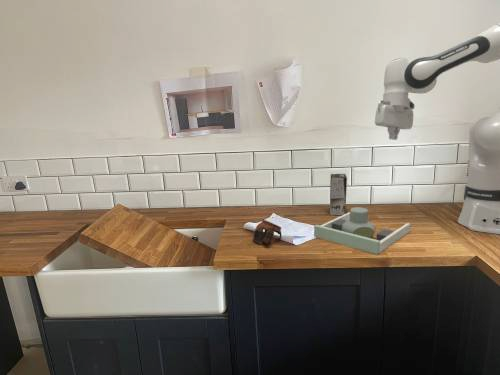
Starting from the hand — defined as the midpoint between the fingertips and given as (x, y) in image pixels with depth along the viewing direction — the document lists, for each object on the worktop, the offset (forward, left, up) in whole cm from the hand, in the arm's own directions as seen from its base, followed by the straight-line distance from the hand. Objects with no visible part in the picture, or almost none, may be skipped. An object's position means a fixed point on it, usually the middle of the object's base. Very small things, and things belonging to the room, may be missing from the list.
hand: (393, 139), depth 133 cm
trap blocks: (-1, +24, -31) cm, 40 cm away
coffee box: (+19, +7, -32) cm, 37 cm away
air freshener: (-1, +28, -32) cm, 42 cm away
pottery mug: (+20, +51, -32) cm, 64 cm away
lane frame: (-1, +24, -31) cm, 40 cm away
